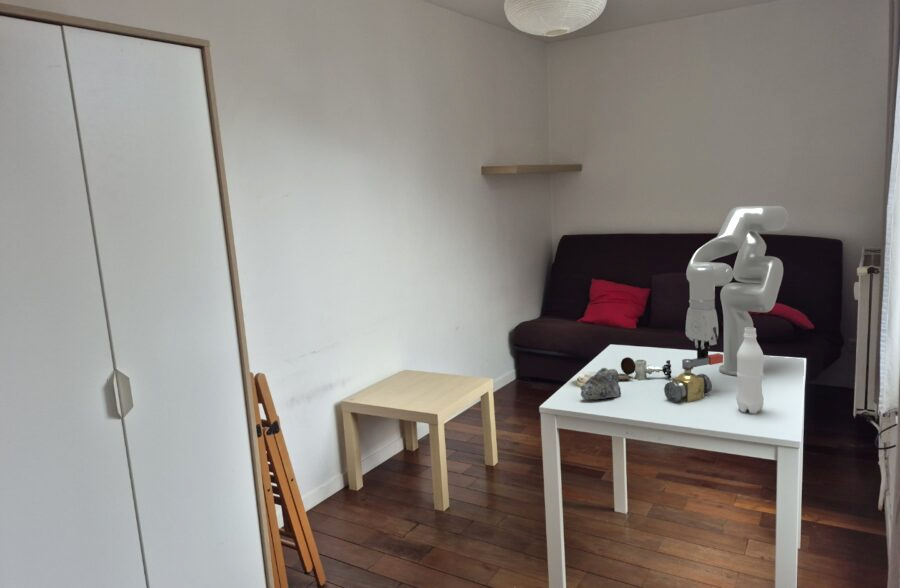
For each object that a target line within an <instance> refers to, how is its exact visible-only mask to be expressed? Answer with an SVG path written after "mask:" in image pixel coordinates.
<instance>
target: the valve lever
mask: <svg viewBox="0 0 900 588" xmlns="http://www.w3.org/2000/svg"><path fill="white" fill-rule="evenodd" d="M681 361H682V362H681V364H682V369H683V370H684V369H686V370H691V371H692V370H693V369H694V368H698V367H704V366H713V365H717V364H722V363H723V364H724V354H722V353H713V354H712V353H711V354H708V355H706V357H701V358H697V357H696V358H684V359H682V360H681Z"/></svg>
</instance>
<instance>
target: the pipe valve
mask: <svg viewBox="0 0 900 588" xmlns="http://www.w3.org/2000/svg"><path fill="white" fill-rule="evenodd" d="M683 370H684V371H683V372H682V373H680V374H679V375H678V376H674V377H671V381H669V382H667V383H665V385H664V388H663V391H664V392H663V393H664V396H665V397H666V399H667V400H668V401H669V402H671V403H673V404H674V403H677V402H680V401H682V402H685V403H690V402H694V401H698V400H701V399H704V398H705V394H708V393H711V390H712V387H713V386H712V385H713V384H712V380H711V379H710V377H709V376H708V375H707V374H704V373H699V374H695V373H693V372H692V369H691V370H686V369H683Z"/></svg>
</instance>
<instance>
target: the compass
mask: <svg viewBox="0 0 900 588" xmlns="http://www.w3.org/2000/svg"><path fill="white" fill-rule="evenodd" d="M635 367H636V366H635V361H634V359H633V358H631V357H630V356H628V357H627V356H626V357H623V358H622V359H621V362H620V368H621V371H622V372H623V373H618V378H619V381H618V382H627V381H632V380H633V379H634V378H632V377H631V376H630V375H632V374H634V373H635Z"/></svg>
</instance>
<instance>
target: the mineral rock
mask: <svg viewBox="0 0 900 588" xmlns="http://www.w3.org/2000/svg"><path fill="white" fill-rule="evenodd" d="M618 374H619V371H618V370H617V369H615V368H612V369H611V368H610V369H608V368H606V367H601V368H600V369H599V370H598V371H597V372H596V373H595V374H594V375H593V376H591V377H590V378H589V377H588V380H586V382H585V383H584V384H582V385H581V386H580V391H581V392H580V396H581V397H582V399H585V400H587V399H588V400H602V399H607V398H619V397H621V386H620V385H619V382H620V381H619V378H618Z"/></svg>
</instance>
